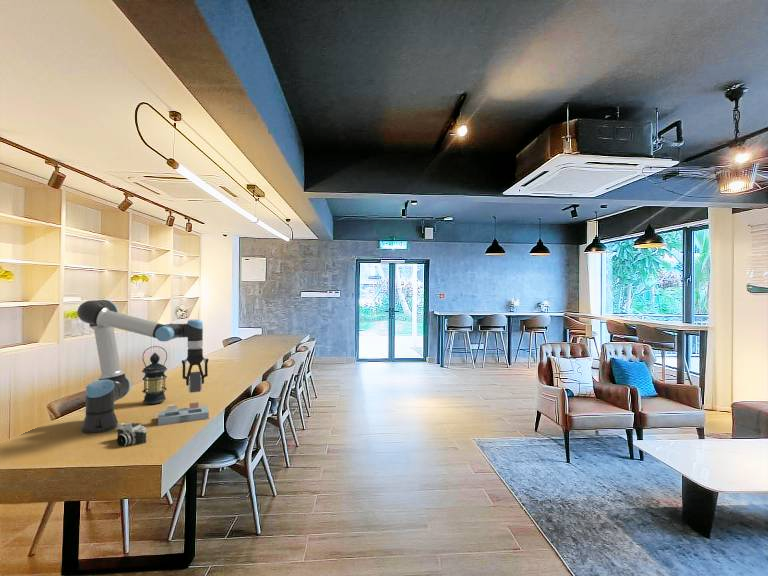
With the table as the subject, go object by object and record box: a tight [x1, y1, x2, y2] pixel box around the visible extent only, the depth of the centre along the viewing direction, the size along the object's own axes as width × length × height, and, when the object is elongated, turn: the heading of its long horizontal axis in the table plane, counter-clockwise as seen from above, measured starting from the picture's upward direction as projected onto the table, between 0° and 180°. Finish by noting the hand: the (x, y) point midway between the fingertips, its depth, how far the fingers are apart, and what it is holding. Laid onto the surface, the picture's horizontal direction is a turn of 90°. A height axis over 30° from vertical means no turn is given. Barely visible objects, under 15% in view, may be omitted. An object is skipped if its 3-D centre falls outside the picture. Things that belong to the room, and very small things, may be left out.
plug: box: [189, 371, 201, 393], centre depth 222 cm, size 5×5×10 cm
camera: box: [116, 422, 147, 447], centre depth 184 cm, size 16×9×10 cm, turn 71°
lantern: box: [141, 345, 168, 405], centre depth 250 cm, size 14×13×35 cm
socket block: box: [157, 401, 210, 426], centre depth 220 cm, size 24×14×7 cm, turn 119°
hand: (195, 390), depth 222 cm, fingers closed on plug, 5 cm apart
